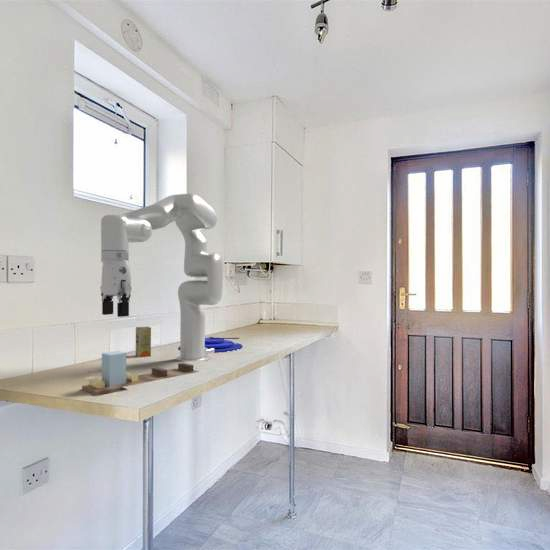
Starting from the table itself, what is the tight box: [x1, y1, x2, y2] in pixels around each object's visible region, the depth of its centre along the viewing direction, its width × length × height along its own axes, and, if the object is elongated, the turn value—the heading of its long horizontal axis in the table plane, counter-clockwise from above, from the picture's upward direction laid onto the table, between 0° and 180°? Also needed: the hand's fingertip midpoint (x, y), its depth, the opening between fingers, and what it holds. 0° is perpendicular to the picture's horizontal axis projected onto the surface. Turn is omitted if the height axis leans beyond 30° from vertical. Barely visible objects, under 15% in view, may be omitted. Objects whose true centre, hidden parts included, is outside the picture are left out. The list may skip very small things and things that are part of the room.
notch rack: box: [81, 362, 200, 396], centre depth 123 cm, size 34×10×3 cm, turn 137°
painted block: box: [101, 350, 127, 387], centre depth 116 cm, size 5×5×9 cm
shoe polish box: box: [135, 325, 152, 358], centre depth 167 cm, size 5×5×12 cm
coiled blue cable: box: [178, 336, 243, 354], centre depth 189 cm, size 30×6×30 cm
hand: (115, 315), depth 117 cm, fingers open, 9 cm apart
